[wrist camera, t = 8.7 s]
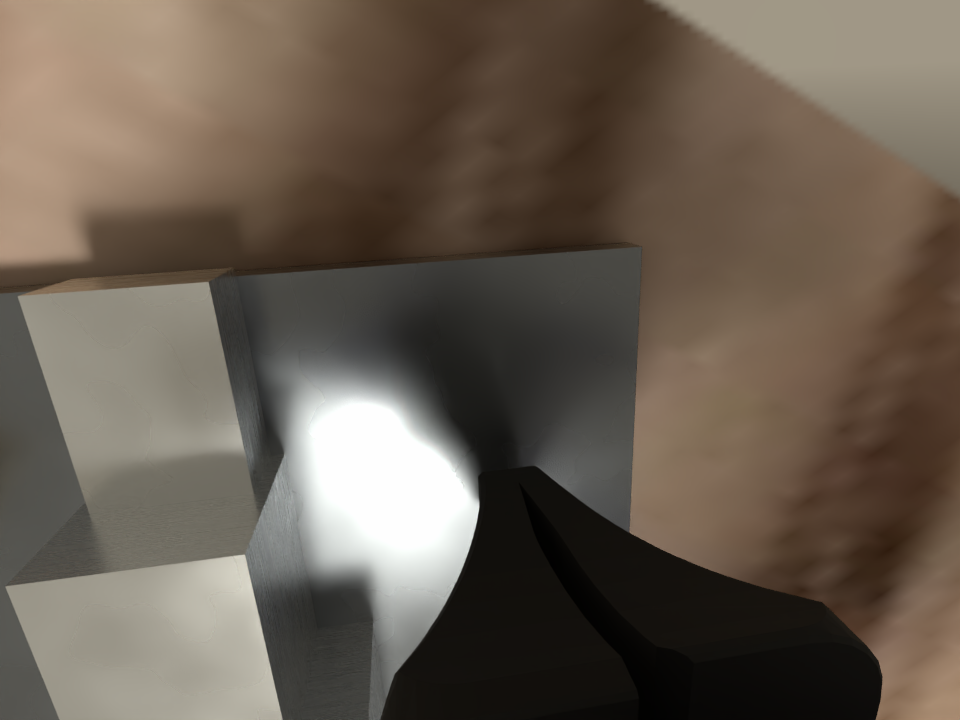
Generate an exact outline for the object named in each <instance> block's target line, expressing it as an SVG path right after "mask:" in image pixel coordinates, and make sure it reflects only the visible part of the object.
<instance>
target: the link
mask: <svg viewBox="0 0 960 720" xmlns="http://www.w3.org/2000/svg"><path fill="white" fill-rule="evenodd" d="M18 299H19V302H20V305H21V308H22V311H23V314H24V317H25V320H26V323H27V326H28V329H29V332H30V335H31V338H32V342H33V345H34V348H35V351H36V354H37V357H38V360H39V363H40V366H41V369H42V372H43V375H44V378H45V381H46V384H47V387H48V390H49V393H50V396H51V399H52V402H53V405H54V408H55V411H56V414H57V417H58V420H59V423H60V427H61V430H62V433H63V436H64V439H65V442H66V445H67V448H68V451H69V454H70V457H71V460H72V463H73V466H74V469H75V472H76V475H77V478H78V481H79V484H80V487H81V490H82V493H83V496H84V499H85V503H84V504H83V505H82V506H81V507H80V508H79V509H78V510H77V511H76V512H75V514H74V515H73V516H72V517H71V518H70V519H69V520H68V521H67V522H66V523H65V524H64V525H63V526H62V527H61V528H60V529H59V530H58V531H57V532H56V534H55V535H54V536H53V537H52V538H51V539H50V540H49V541H48V542H47V543H46V544H45V545H44V546H43V547H42V548H41V549H40V550H39V551H38V552H37V554H36V555H35V556H34V557H33V558H32V559H31V560H30V561H29V562H28V563H27V564H26V565H25V566H24V567H23V568H22V569H21V570H20V571H19V572H18V574H17V575H16V576H15V577H14V578H13V579H12V580H11V581H10V582H9V583H8V584H7V585H6V586H5V587H6V590H7V592H8V595H9V597H10V599H11V602H12V604H13V607H14V609H15V612H16V614H17V617H18V619H19V622H20V624H21V626H22V629H23V631H24V634H25V636H26V639H27V641H28V644H29V646H30V648H31V651H32V653H33V656H34V658H35V661H36V663H37V666H38V668H39V671H40V673H41V675H42V678H43V680H44V683H45V685H46V688H47V690H48V693H49V695H50V698H51V700H52V702H53V705H54V707H55V710H56V712H57V715H58V717H59V720H380V719H381V716H382V712H383V709H384V705H385V698H384V692H383V685H382V678H381V671H380V664H379V657H378V650H377V643H376V636H375V629H374V622H373V621H367V622H360V623H354V624H347V625H341V626H334V627H327V628H321V629H317V624H316V618H315V613H314V608H313V602H312V597H311V592H310V586H309V581H308V576H307V570H306V565H305V560H304V554H303V549H302V543H301V538H300V533H299V527H298V522H297V517H296V511H295V506H294V501H293V495H292V490H291V485H290V479H289V474H288V468H287V463H286V458H285V454H277V455H271V453H270V448H269V443H268V438H267V433H266V428H265V423H264V417H263V412H262V407H261V402H260V397H259V392H258V387H257V382H256V377H255V372H254V366H253V361H252V356H251V351H250V346H249V341H248V336H247V331H246V326H245V321H244V315H243V310H242V305H241V300H240V295H239V290H238V285H237V280H236V275H235V270H234V268H220V269H206V270H192V271H178V272H164V273H150V274H136V275H122V276H108V277H94V278H80V279H70V280H67V281H64V282H61V283H57V284H54V285H51V286H48V287H45V288H42V289H38V290H35V291H32V292H29V293H26V294H23V295H19V296H18Z"/></svg>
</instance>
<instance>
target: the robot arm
mask: <svg viewBox="0 0 960 720" xmlns="http://www.w3.org/2000/svg"><path fill="white" fill-rule="evenodd" d="M478 488H479V512H478V518H477V523H476V528H475V531H474V535H473V538H472V542H471V545H470V549H469V552H468V555H467V557H466V560H465V563H464V565H463V568H462V570H461V573H460V575H459V577H458V579H457V581H456V584H455V586H454V588H453V590H452V592H451V594H450V596H449V598H448V600H447V601H446V603H445V605H444V607H443V609H442V610H441V612H440V613H439V615H438V617H437V618H436V620H435V621H434V623H433V624H432V626H431V627H430V629H429V630H428V632H427V634H426V635H425V637H424V638H423V639H422V641H421V642H420V644H419V645H418V646H417V647H416V649H415V650H414V651H413V652H412V654H411V655H410V656H409V657H408V658H407V660H406V661H405V662H404V663H403V665H402V666H401V667H400V668H399V670H398V671H397V672H396V673H395V674H394V677H393V680H392V683H391V686H390V689H389V692H388V695H387V699H386V702H385V705H384V709H383V712H382V716H381V719H380V720H875V719H876V715H877V711H878V708H879V704H880V699H881V689H882V673H881V669H880V665H879V662H878V660H877V658H876V657H875V656H874V654H873V653H872V652H871V651H870V649H869V648H868V647H867V646H866V645H865V644H864V643H863V642H862V641H861V640H860V639H859V638H858V637H857V636H856V635H855V634H854V633H853V632H852V631H851V630H850V629H849V628H848V627H847V626H846V625H845V624H844V623H843V622H842V621H841V620H840V619H839V618H838V617H837V616H836V615H835V614H834V613H833V612H832V611H831V610H830V609H829V608H827V607H826V606H825V605H824V604H823V603H822V602H818V601H814V600H810V599H806V598H802V597H798V596H794V595H790V594H786V593H782V592H778V591H774V590H770V589H766V588H762V587H759V586H755V585H752V584H749V583H746V582H743V581H740V580H737V579H734V578H731V577H727V576H724V575H722V574H719V573H716V572H713V571H711V570H708V569H705V568H703V567H700V566H698V565H695V564H693V563H691V562H688V561H686V560H683V559H681V558H679V557H676V556H674V555H672V554H670V553H667V552H665V551H663V550H661V549H659V548H657V547H655V546H653V545H651V544H649V543H647V542H645V541H644V540H642V539H640V538H638V537H636V536H634V535H632V534H631V533H629V532H627V531H625V530H624V529H622V528H620V527H619V526H617V525H616V524H614V523H612V522H611V521H609V520H608V519H606V518H605V517H603V516H601V515H600V514H598V513H597V512H596V511H594V510H593V509H591V508H590V507H588V506H587V505H586V504H584V503H583V502H581V501H580V500H579V499H577V498H576V497H575V496H573V495H572V494H571V493H569V492H568V491H567V490H566V489H564V488H563V487H562V486H561V485H559V484H558V483H557V482H555V481H554V480H553V479H552V478H551V477H549V476H548V475H547V474H546V473H544V472H543V471H542V470H541V469H539V468H538V467H537V466H527V467H518V468H510V469H501V470H493V471H485V472H482V473H481V474H480V475H479V476H478Z"/></svg>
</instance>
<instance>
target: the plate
mask: <svg viewBox="0 0 960 720" xmlns="http://www.w3.org/2000/svg"><path fill="white" fill-rule="evenodd" d="M641 257H642V247H641V246H637V245H634V244H630V243H616V244H602V245H588V246H574V247H560V248H546V249H532V250H518V251H505V252H491V253H477V254H463V255H449V256H435V257H421V258H407V259H393V260H379V261H365V262H351V263H338V264H324V265H310V266H296V267H282V268H268V269H254V270H240V271H235V275H236V280H237V285H238V290H239V295H240V300H241V305H242V310H243V315H244V321H245V326H246V331H247V336H248V341H249V346H250V351H251V356H252V361H253V366H254V372H255V377H256V382H257V387H258V392H259V397H260V402H261V407H262V412H263V417H264V423H265V428H266V433H267V438H268V443H269V448H270V453H271V455H277V454H285V458H286V463H287V468H288V474H289V479H290V485H291V490H292V495H293V501H294V506H295V511H296V517H297V522H298V527H299V533H300V538H301V543H302V549H303V554H304V560H305V565H306V570H307V576H308V581H309V586H310V592H311V597H312V602H313V608H314V613H315V618H316V624H317V629H321V628H327V627H334V626H341V625H347V624H354V623H360V622H367V621H373V622H374V629H375V636H376V643H377V650H378V657H379V664H380V671H381V678H382V685H383V692H384V698H385V702H386V699H387V695H388V692H389V689H390V686H391V683H392V680H393V677H394V674H395V673H396V672H397V671H398V670H399V668H400V667H401V666H402V665H403V663H404V662H405V661H406V660H407V658H408V657H409V656H410V655H411V654H412V652H413V651H414V650H415V649H416V647H417V646H418V645H419V644H420V642H421V641H422V639H423V638H424V637H425V635H426V634H427V632H428V630H429V629H430V627H431V626H432V624H433V623H434V621H435V620H436V618H437V617H438V615H439V613H440V612H441V610H442V609H443V607H444V605H445V603H446V601H447V600H448V598H449V596H450V594H451V592H452V590H453V588H454V586H455V584H456V581H457V579H458V577H459V575H460V573H461V570H462V568H463V565H464V563H465V560H466V557H467V555H468V552H469V549H470V545H471V542H472V538H473V535H474V531H475V528H476V523H477V518H478V512H479V488H478V476H479V475H480V474H481V473H482V472H485V471H493V470H501V469H510V468H518V467H527V466H537V467H538V468H539V469H541V470H542V471H543V472H544V473H546V474H547V475H548V476H549V477H551V478H552V479H553V480H554V481H555V482H557V483H558V484H559V485H561V486H562V487H563V488H564V489H566V490H567V491H568V492H569V493H571V494H572V495H573V496H575V497H576V498H577V499H579V500H580V501H581V502H583V503H584V504H586V505H587V506H588V507H590V508H591V509H593V510H594V511H596V512H597V513H598V514H600V515H601V516H603V517H605V518H606V519H608V520H609V521H611V522H612V523H614V524H616V525H617V526H619V527H620V528H622V529H624V530H625V531H627V532H629V527H630V505H631V482H632V460H633V437H634V415H635V392H636V370H637V347H638V325H639V302H640V280H641ZM51 285H54V284H45V285H31V286H17V287H3V288H0V720H59V717H58V715H57V712H56V710H55V707H54V705H53V702H52V700H51V698H50V695H49V693H48V690H47V688H46V685H45V683H44V680H43V678H42V675H41V673H40V671H39V668H38V666H37V663H36V661H35V658H34V656H33V653H32V651H31V648H30V646H29V644H28V641H27V639H26V636H25V634H24V631H23V629H22V626H21V624H20V622H19V619H18V617H17V614H16V612H15V609H14V607H13V604H12V602H11V599H10V597H9V595H8V592H7V590H6V587H5V586H6V585H7V584H8V583H9V582H10V581H11V580H12V579H13V578H14V577H15V576H16V575H17V574H18V572H19V571H20V570H21V569H22V568H23V567H24V566H25V565H26V564H27V563H28V562H29V561H30V560H31V559H32V558H33V557H34V556H35V555H36V554H37V552H38V551H39V550H40V549H41V548H42V547H43V546H44V545H45V544H46V543H47V542H48V541H49V540H50V539H51V538H52V537H53V536H54V535H55V534H56V532H57V531H58V530H59V529H60V528H61V527H62V526H63V525H64V524H65V523H66V522H67V521H68V520H69V519H70V518H71V517H72V516H73V515H74V514H75V512H76V511H77V510H78V509H79V508H80V507H81V506H82V505H83V504H84V503H85V499H84V496H83V493H82V490H81V487H80V484H79V481H78V478H77V475H76V472H75V469H74V466H73V463H72V460H71V457H70V454H69V451H68V448H67V445H66V442H65V439H64V436H63V433H62V430H61V427H60V423H59V420H58V417H57V414H56V411H55V408H54V405H53V402H52V399H51V396H50V393H49V390H48V387H47V384H46V381H45V378H44V375H43V372H42V369H41V366H40V363H39V360H38V357H37V354H36V351H35V348H34V345H33V342H32V338H31V335H30V332H29V329H28V326H27V323H26V320H25V317H24V314H23V311H22V308H21V305H20V302H19V299H18V296H19V295H23V294H26V293H29V292H32V291H35V290H38V289H42V288H45V287H48V286H51Z"/></svg>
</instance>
